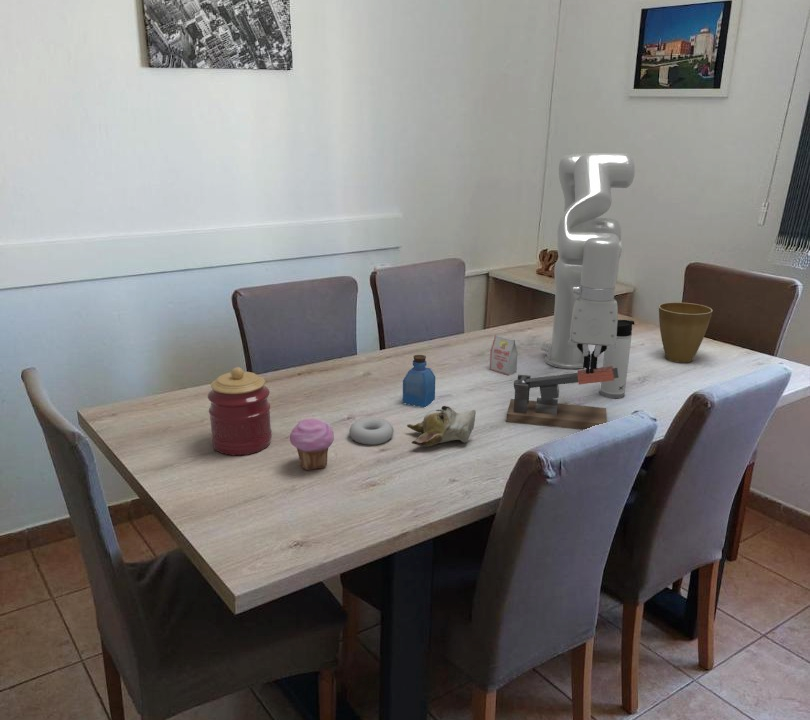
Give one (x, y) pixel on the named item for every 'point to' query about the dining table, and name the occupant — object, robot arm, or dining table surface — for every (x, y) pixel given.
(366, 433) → the donut
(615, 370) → the lever
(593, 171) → the robot arm
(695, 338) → the plant pot
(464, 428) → the ceramic sculpture
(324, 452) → the cupcake
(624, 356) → the travel mug
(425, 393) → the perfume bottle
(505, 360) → the white paper bag
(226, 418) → the canister
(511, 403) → the nutcracker base
